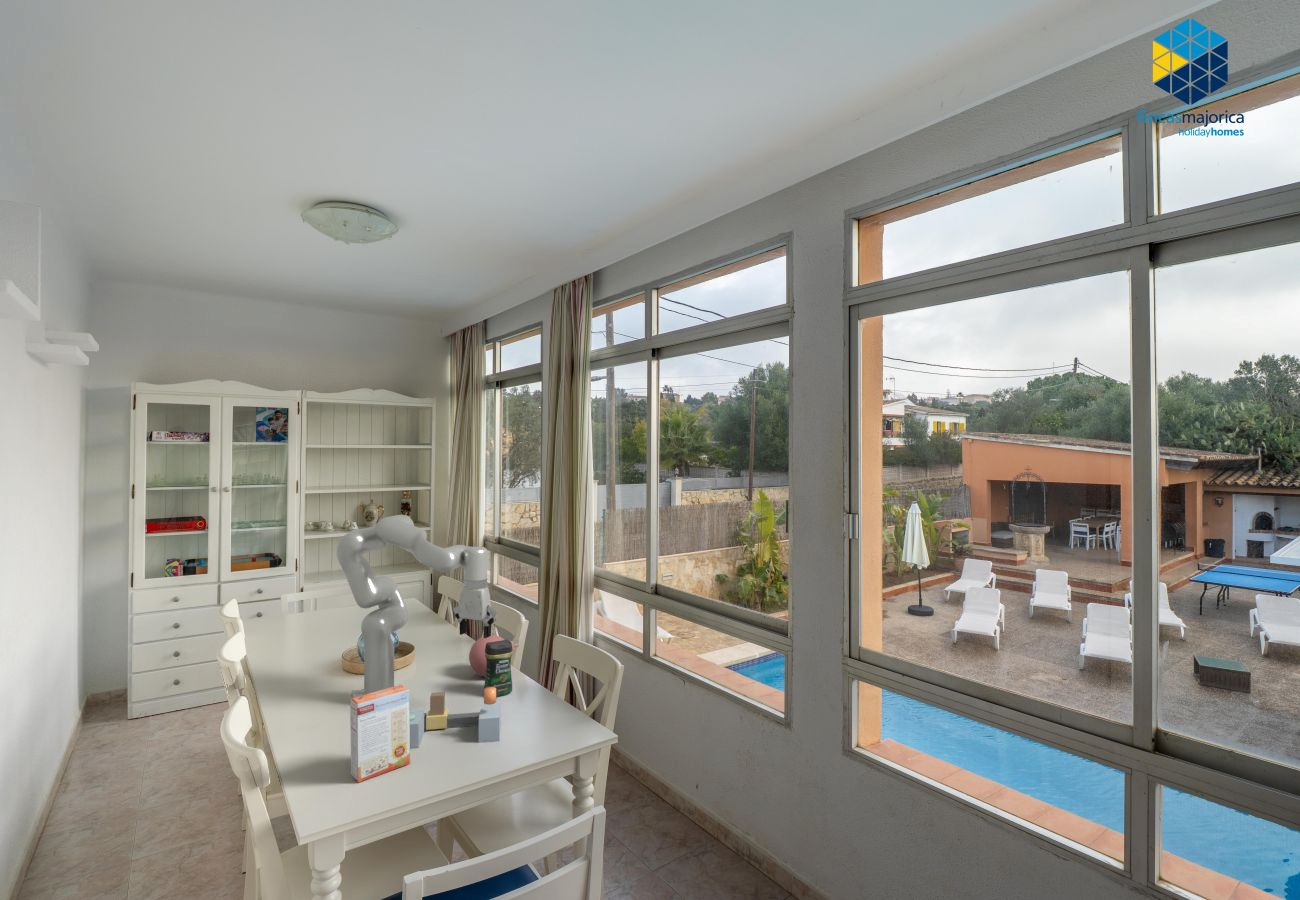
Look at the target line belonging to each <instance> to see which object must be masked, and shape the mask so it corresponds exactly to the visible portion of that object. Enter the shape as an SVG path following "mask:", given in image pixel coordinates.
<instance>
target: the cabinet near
mask: <svg viewBox="0 0 1300 900" xmlns="http://www.w3.org/2000/svg"><path fill="white" fill-rule="evenodd" d="M424 713H425V709H414V710H409V724H410V749H419V748H420V744H421V742H422V739H423V736H424V733H425V730H424Z"/></svg>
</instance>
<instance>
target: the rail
mask: <svg viewBox="0 0 1300 900" xmlns="http://www.w3.org/2000/svg"><path fill="white" fill-rule="evenodd" d="M427 714H428V712H424V731H427V730H426V717H427ZM479 715H480V711H478V712H465V713H463V712H462V713H451V714H449V715H448V716H447V728H446V729H455V728H468V727H469V728H470V727H479ZM443 729H445V728H443ZM443 729H442V730H443Z"/></svg>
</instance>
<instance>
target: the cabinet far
mask: <svg viewBox="0 0 1300 900" xmlns="http://www.w3.org/2000/svg"><path fill="white" fill-rule="evenodd" d="M479 712H480V715H479V726H478V743H487V742H488V743H489V742H499V741H500V739H501V730H502V727H501V726H502V703H494V704H491V705H487V704H482V705H481V706H480V710H479Z"/></svg>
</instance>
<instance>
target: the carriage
mask: <svg viewBox="0 0 1300 900" xmlns="http://www.w3.org/2000/svg"><path fill="white" fill-rule="evenodd" d="M445 696H446V692H445V691H438V692H437V691H436V692H431V693H430V696H429V710H427V711H428V712H427V717H426V730H425V731H428V730H429V731H430V730H441V729H442V730H443V728H444V729H448V728H447V716H448V715H450V714H449V713H450V711H449V708H446V706H445V705H446V697H445Z"/></svg>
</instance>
